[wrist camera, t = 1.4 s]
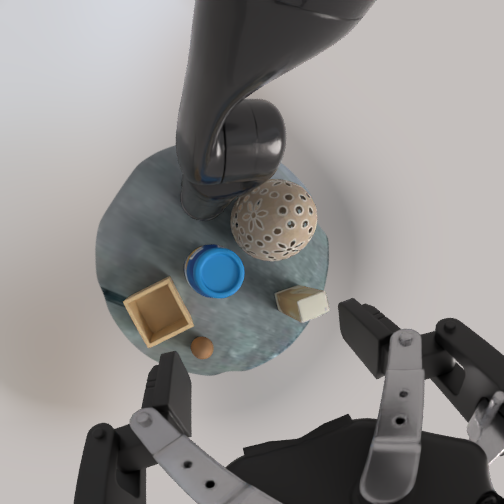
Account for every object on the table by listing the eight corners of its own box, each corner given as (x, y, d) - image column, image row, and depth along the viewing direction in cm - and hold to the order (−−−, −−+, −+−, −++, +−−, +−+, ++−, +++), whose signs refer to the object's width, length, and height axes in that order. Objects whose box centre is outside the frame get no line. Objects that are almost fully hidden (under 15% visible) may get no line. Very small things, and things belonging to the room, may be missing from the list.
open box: (129, 296, 50) (122, 301, 43) (170, 275, 52) (169, 278, 45) (151, 337, 51) (148, 348, 44) (191, 317, 53) (194, 326, 46)
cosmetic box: (298, 284, 60) (327, 289, 48) (302, 302, 60) (331, 311, 49) (272, 293, 58) (296, 301, 47) (277, 312, 59) (302, 323, 47)
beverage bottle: (229, 281, 56) (259, 292, 37) (190, 295, 54) (200, 314, 34) (217, 242, 55) (240, 232, 36) (177, 254, 53) (179, 252, 34)
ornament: (221, 192, 56) (246, 159, 37) (286, 192, 60) (335, 165, 41) (225, 263, 56) (253, 265, 36) (291, 258, 60) (344, 257, 41)
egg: (207, 356, 54) (211, 366, 48) (187, 349, 53) (188, 359, 47) (214, 337, 55) (219, 346, 49) (194, 330, 53) (196, 338, 48)
